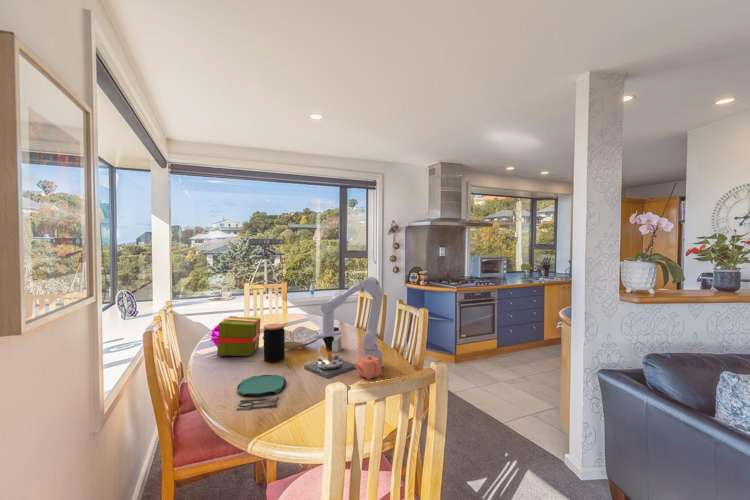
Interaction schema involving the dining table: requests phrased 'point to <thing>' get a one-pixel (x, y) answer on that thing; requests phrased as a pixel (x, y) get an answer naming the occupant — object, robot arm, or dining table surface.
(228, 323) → the gift box
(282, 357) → the coffee jar
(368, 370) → the pumpkin
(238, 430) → the dining table surface
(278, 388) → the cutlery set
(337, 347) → the container
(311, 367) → the base plate
